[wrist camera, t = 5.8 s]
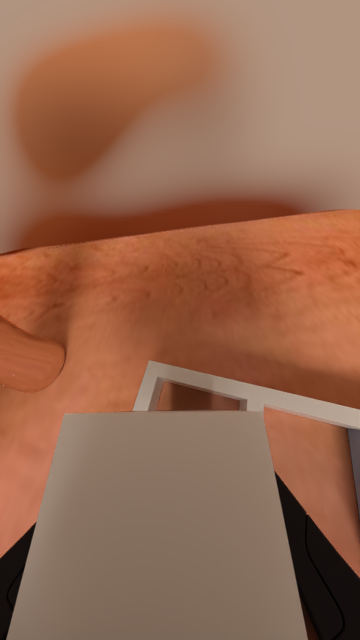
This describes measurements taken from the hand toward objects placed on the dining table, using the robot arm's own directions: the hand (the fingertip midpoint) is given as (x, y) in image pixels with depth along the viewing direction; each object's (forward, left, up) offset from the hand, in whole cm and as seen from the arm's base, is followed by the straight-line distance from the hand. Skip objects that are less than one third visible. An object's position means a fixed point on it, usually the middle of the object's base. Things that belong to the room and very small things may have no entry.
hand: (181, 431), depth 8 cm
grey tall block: (-1, -1, -7) cm, 7 cm away
